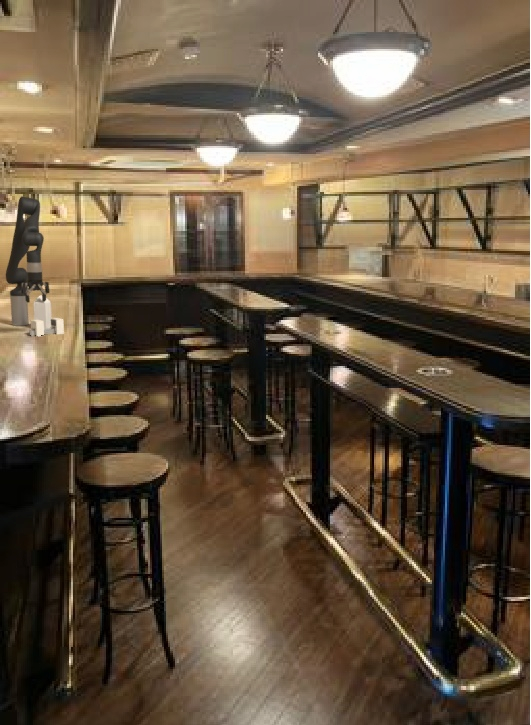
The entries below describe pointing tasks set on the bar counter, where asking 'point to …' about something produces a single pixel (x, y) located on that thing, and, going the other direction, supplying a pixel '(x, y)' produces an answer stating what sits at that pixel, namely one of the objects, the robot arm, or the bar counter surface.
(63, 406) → the bar counter surface
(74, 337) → the bar counter surface
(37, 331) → the cream rectangular block
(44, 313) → the milk carton
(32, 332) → the rail
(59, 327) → the block
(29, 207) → the robot arm
